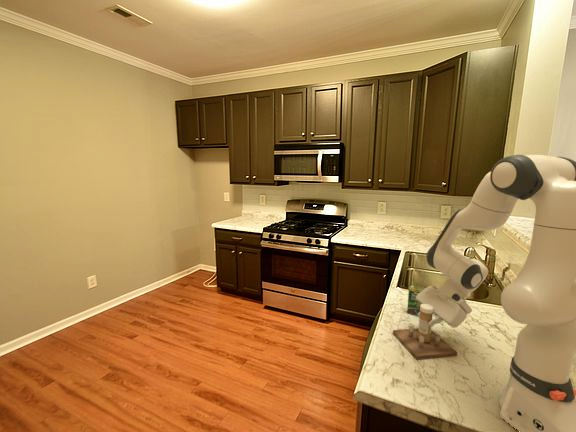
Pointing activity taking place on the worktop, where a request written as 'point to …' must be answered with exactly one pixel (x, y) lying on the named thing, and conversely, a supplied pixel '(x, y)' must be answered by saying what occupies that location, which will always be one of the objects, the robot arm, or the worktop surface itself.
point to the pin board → (424, 344)
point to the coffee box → (413, 300)
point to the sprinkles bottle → (425, 321)
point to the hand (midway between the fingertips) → (424, 320)
